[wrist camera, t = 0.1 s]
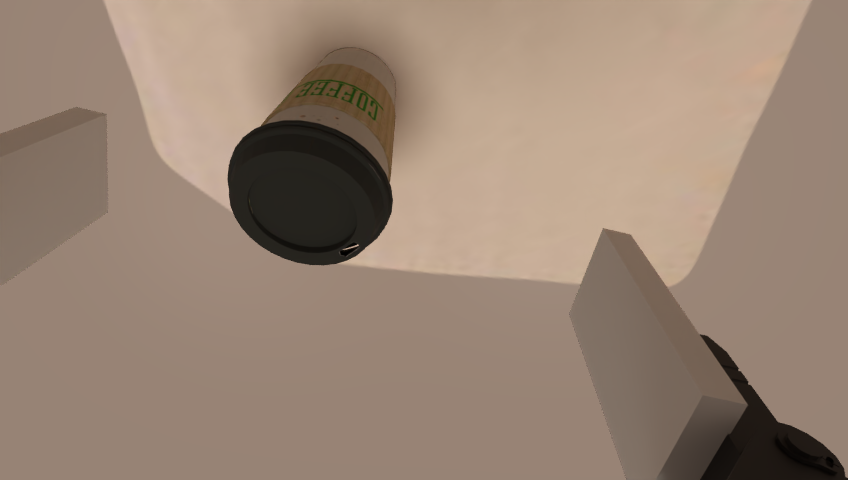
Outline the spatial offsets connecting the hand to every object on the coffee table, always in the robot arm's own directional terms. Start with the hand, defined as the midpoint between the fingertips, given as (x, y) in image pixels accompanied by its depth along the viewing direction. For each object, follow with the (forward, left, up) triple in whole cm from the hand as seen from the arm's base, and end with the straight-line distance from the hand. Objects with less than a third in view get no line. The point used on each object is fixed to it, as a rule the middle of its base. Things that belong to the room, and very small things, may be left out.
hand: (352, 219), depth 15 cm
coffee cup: (+12, +6, -28) cm, 31 cm away
